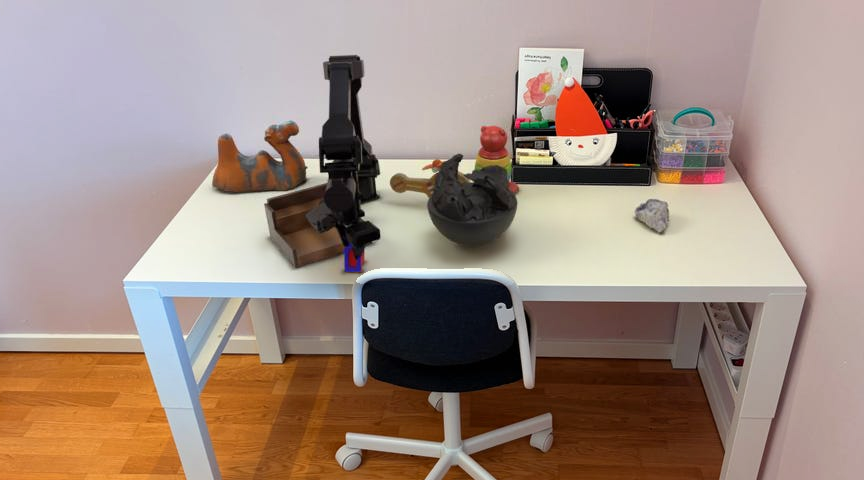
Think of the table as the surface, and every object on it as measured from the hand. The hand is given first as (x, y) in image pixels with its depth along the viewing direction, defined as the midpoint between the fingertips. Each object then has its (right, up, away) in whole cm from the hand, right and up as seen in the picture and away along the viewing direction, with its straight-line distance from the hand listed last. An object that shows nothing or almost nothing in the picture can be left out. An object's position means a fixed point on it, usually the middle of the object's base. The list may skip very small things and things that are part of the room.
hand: (352, 253), depth 158 cm
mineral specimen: (+68, +7, +14) cm, 70 cm away
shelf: (-9, +3, +10) cm, 14 cm away
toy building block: (+1, -3, +1) cm, 3 cm away
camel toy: (-30, +19, +37) cm, 51 cm away
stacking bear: (+32, +16, +30) cm, 46 cm away
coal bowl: (+26, +3, +9) cm, 28 cm away
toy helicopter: (+17, +12, +23) cm, 31 cm away
